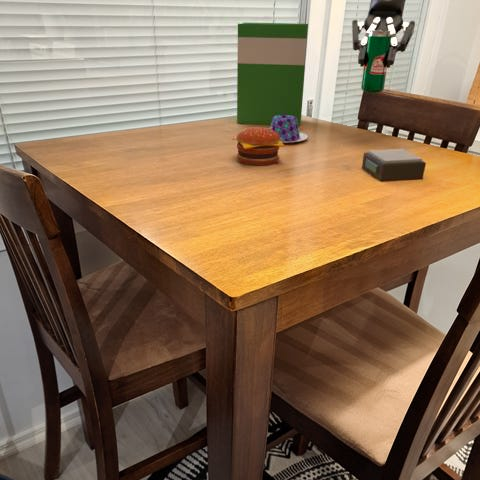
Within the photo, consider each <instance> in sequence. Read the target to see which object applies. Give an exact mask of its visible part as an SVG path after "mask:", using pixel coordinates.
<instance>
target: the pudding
mask: <svg viewBox="0 0 480 480" xmlns="http://www.w3.org/2000/svg"><path fill="white" fill-rule="evenodd" d="M269 129H271V130H273V131H275V132H276V133H278V134H279V135H280V138H281V139H280V141H281V142H282V143H283V144H292V143H297V142H302V141H305V140H307V139H308V138H309V136H308V135H307V134H305V133H303V132H300V128H299V126H298V121H297V118H296V117H294V116H289V115H278V116H274V118H273V120H272V123H271V125H270V128H269Z"/></svg>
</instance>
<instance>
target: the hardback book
mask: <svg viewBox="0 0 480 480" xmlns="http://www.w3.org/2000/svg"><path fill="white" fill-rule="evenodd" d="M308 30H309V23H294V22H293V23H291V22H290V23H289V22H247V21H245V22H237V68H236V70H237V71H236V72H237V73H236V75H237V79H236V80H237V82H236V84H237V85H236V96H237V97H236V124H245V125H246V124H247V125H249V124H250V125H270V126H271V123H272V120H273V118H274V116H278V115H289V116H294V117H296V118H297V121H298V127H301V123H302V115H303V114H302V113H303V99H304V97H303V96H304V86H305V74H306V73H305V72H306V59H307V58H306V57H307V46H308V33H309V31H308Z"/></svg>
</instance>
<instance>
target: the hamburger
mask: <svg viewBox="0 0 480 480" xmlns="http://www.w3.org/2000/svg"><path fill="white" fill-rule="evenodd" d="M280 139H281V138H280V135H279V134H278V133H276V132H275V131H273V130H271V129H270V128H268V127H262V126H253V127H248V128H247V127H246V128H245V129H243V130H242V131H240V132H239V133H238V134H237V135H236V137H233V138H232V140H233V141H236V142H237V144H236V148H237V154H236V159H237V161H238V162H240V163H242V164H245V165H250V166H266V165H273V164H275V163H277V162H278V161H279V159H280V156H279V149H280V147H283V148H284V147H285V144H284V143H282V142H281V141H280Z"/></svg>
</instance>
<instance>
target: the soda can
mask: <svg viewBox="0 0 480 480" xmlns="http://www.w3.org/2000/svg"><path fill="white" fill-rule="evenodd" d="M390 32H391V31H390V30H370V33H369V35H368V37H367V45H366V54H365V62H364V67H363V69H362V70H363V71H362V77H361V78H362V79H361V84H360V85H361V87H360V89H361V91H362V92H365V93H371V94H374V93H375V94H376V93H377V94H378V93H381V92H383V91H384V90H385V83H386V77H387V71H388V68H387V59H388V54H389V49H390V44H391V37H392V36H391V34H390Z"/></svg>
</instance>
